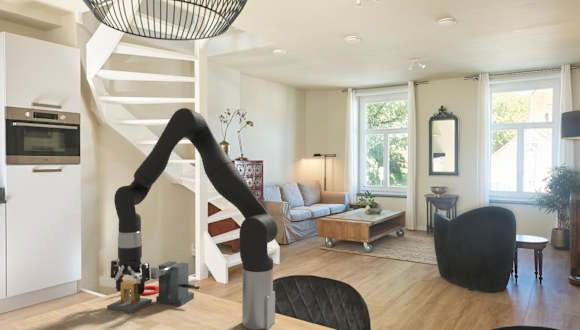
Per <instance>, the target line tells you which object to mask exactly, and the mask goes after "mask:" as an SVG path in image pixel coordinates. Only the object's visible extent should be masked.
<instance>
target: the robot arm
mask: <svg viewBox="0 0 580 330" xmlns="http://www.w3.org/2000/svg"><path fill="white" fill-rule="evenodd" d="M184 138H185V139H187V140H189V142H191V144H192V146H193V147H194V148H195V149H196V150H197V152H198V153H199V156H200V158H201V162H202V166H203V170H204V173H205V175H206V177H207V179H208V180H209V182H210V184H211V185H212V186H213V188H214V189H215V190H216V192H217V193H218V194H219V195H220V196H221V197H223V198H224V199H225V200H226V201H227V202H229V203H231V204H232V205H233V206H234V207H235V208H236V209H237V210H238V211H239V212H240V213H241V214H242V217H244V220H243V221H242V222H241V225H240V227H239V256H240V260H241V263H242V302H241V303H242V311H241V312H242V313H241V314H242V317H241V321H242V326H243V327H244V328H246V329H248V330H269V329H270V328H271V327H272V326H273V324H275V322H276V291H275V290H274V259H273V257H272V256H269V254H268V252H269V251H268V243H271V242H273V241H274V240H275V239H276V238H277V235H278V232H279V230H278V224H277V223H276V222H277V221H276V220H275V219H274V217H273V216H272V214H271V213H269V211H268V210H267V209H266V208H265V206H264V204H262V203H261V202H260V200H259V199H258V198H257V197H256V195H255V194H254V191H253V190H252V189H251V188H250V186H249V185H248V183H247V182H246V181H245V179H244V177H243V176H242V175H241V173H240V171H239V169H238V168H237V167H236V165H235V164H234V162H233V161H232V160H231V158H230V157H229V155H228V154H227V152H226V151H225V150H224V148H223V147H222V146H221V145H220V144H219V142H218V140H217V138H216V137H215V135H214V134H213V132H212V130H211V128H210V125H209V124H208V122H207V121H206V119H205V118H204V116H203V114H201V113H199V112H197V111H194V110H192V109H190V108H187V107H181V108H179V109H177V110H176V111H175V112H174V113H173V114H172V115H171V117H170V119H169V121H168V123H167V124H166V125H165V127H164V129H163V131H162V133H161V134H160V136H159V138H158V140H157V142H156V144H155V145H154V146H153V148H152V150H151V151H150V153H149V154H148V155H147V157H146V158H145V159H144V160H143V161H142V162H141V164H140V165H139V166H138V168H137V169H136V170H135V172H134V174H133V178H134V179H133V181H132V182H131V183H130V184H129V185H122V186H120V187H119V188H117V189H116V191H115V194H114V199H113V201H114V207H115V211H116V215H117V218H118V235H117V259H113V260H111V261H110V276H109V277H110V278H111V279H114V280H115V289H116V292H121V282H123V281H124V279H123V278H124V276H127V275H128V276H132V278H133V279H134V280H135V281H136V280H137V282H138V284H137V293H138V294H142V293H143V292H145V290H146V289H144V288H145V286H146V285H145V283H146V282H148V281H150V279H151V269H150V263H149V262H145V263H144V262H143V263H142V262H141V259H142V257H143V250H142V249H143V243H142V242H143V237H142V218H141V217H142V216H141V215H140V214H139V213H137V211H136V206H137V205H140V204H141V203H142V202H143V201H144V200H145V198H146V197H147V196H148V194H149V192H150V190H151V188H152V187H153V185H154V184H155V182H156V181H157V180H158V179H159V178H160V176H161V175H162V174H163V173H164V171H165V170H166V167H167V166H168V163H169V161H170V157H171V154H172V152H173V150H174V149H175V147H176V146H177V144H178V143H180V142H181V141H182V140H183V139H184ZM140 268H141V269H140ZM137 272H138V273H139V274H137ZM139 277H140V278H139Z"/></svg>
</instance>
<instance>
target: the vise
mask: <svg viewBox="0 0 580 330" xmlns="http://www.w3.org/2000/svg"><path fill="white" fill-rule="evenodd" d="M150 279H152V280H158V287H159V293H158V295H156V298H155V300H156V301H155V302H156V303H159V304H164V303H165V304H166V305H170V304H172V305H171V306H179V307H182V306H183V305H185V304H187V303H188V302H190V301H192V300H193V299H195V293H194V292H193V291H192V292H191V291H189V289H193V290H199V289H200V285H195V284H189V263H188V262H179V263H178V262H177V261H174V260H173V261H171V260H169V261H166V262H162V263H161V264H159V265H158V267H155V266H152V267H150ZM165 304H164V305H165Z"/></svg>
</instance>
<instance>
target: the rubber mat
mask: <svg viewBox="0 0 580 330" xmlns="http://www.w3.org/2000/svg"><path fill="white" fill-rule="evenodd" d="M152 303H153V299H152V298H147V297H146V298H145V297H140V302H139V303H137V304H135V305H131V295H130V301H128V302H126V303H121V299H119V300H116V301H114V302H112V303H109V304H108V305H106V310H109V311H114V312H121V313H126V314H134V313H136V312H137V311H139V310H141V309H143V308H145V307H147V306H149V305H151V304H152Z"/></svg>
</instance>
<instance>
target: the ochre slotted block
mask: <svg viewBox="0 0 580 330" xmlns="http://www.w3.org/2000/svg"><path fill="white" fill-rule="evenodd" d="M137 284H138V282H137V281H136V280H130V279H125V280H123V282H121V291H120V300H121V303H126V302H128V301H130V296H131V305H135V304H137V303H139V302H140V298H141V295H140V294H138V293H137Z"/></svg>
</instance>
